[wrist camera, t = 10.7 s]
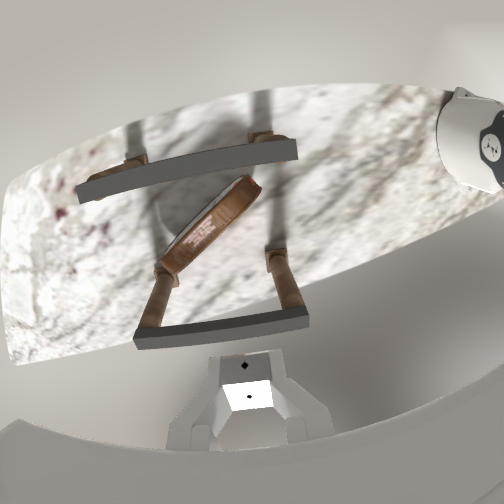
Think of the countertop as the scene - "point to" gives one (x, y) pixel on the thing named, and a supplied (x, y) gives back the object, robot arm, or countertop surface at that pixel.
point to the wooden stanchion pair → (166, 281)
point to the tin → (210, 223)
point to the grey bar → (188, 167)
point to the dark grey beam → (222, 329)
